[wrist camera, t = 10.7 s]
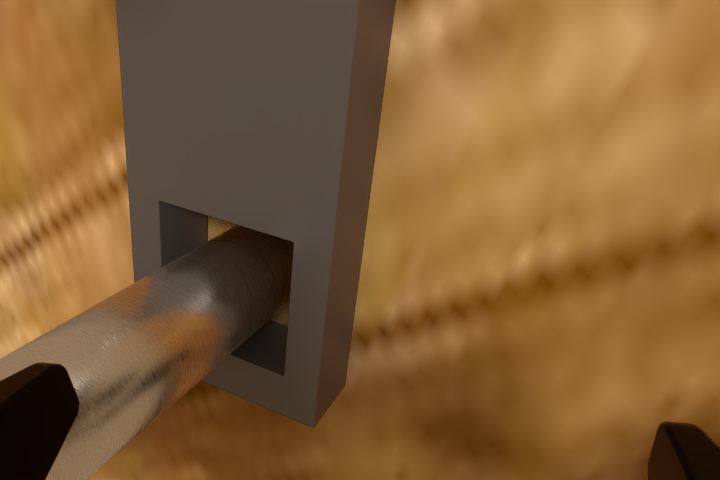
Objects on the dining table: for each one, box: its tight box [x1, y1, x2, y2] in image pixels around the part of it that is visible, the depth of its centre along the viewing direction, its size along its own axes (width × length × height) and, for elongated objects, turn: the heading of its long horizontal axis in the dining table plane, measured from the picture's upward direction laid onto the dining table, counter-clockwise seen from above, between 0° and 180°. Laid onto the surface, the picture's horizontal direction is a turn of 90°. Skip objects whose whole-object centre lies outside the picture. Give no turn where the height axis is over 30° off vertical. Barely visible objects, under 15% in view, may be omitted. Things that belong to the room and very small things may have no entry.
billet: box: [0, 225, 294, 480], centre depth 19 cm, size 4×4×13 cm
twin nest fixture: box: [116, 0, 396, 428], centre depth 20 cm, size 9×28×3 cm, turn 172°
